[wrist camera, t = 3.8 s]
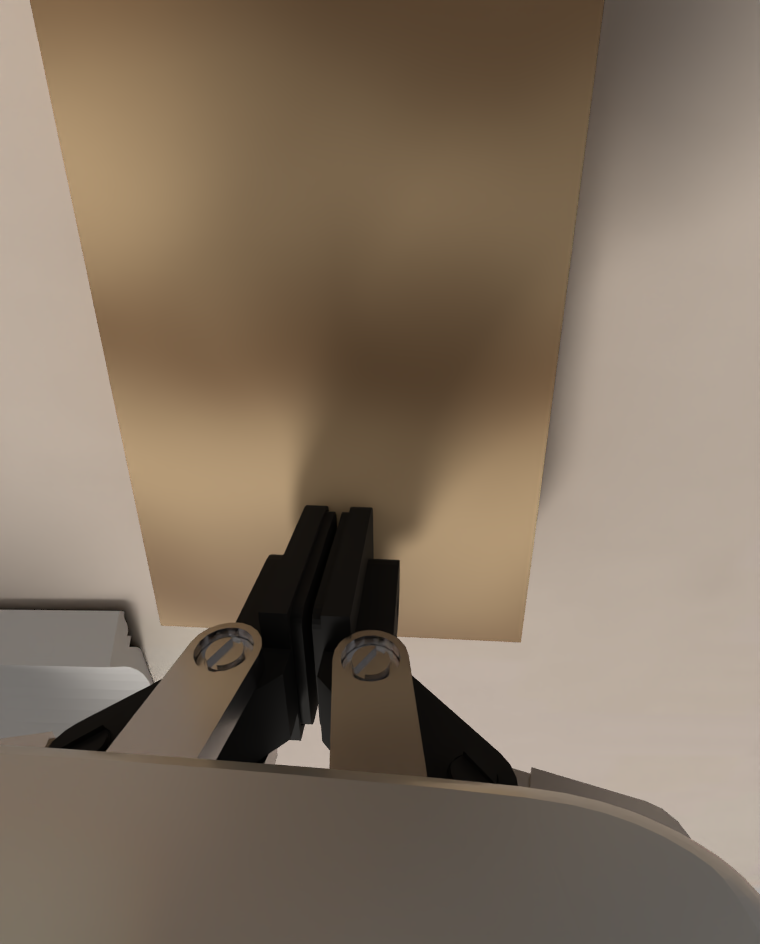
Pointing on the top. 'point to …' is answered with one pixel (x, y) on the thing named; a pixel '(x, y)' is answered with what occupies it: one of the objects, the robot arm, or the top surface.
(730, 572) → the top surface
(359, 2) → the oak plank
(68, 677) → the crown molding
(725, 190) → the top surface
